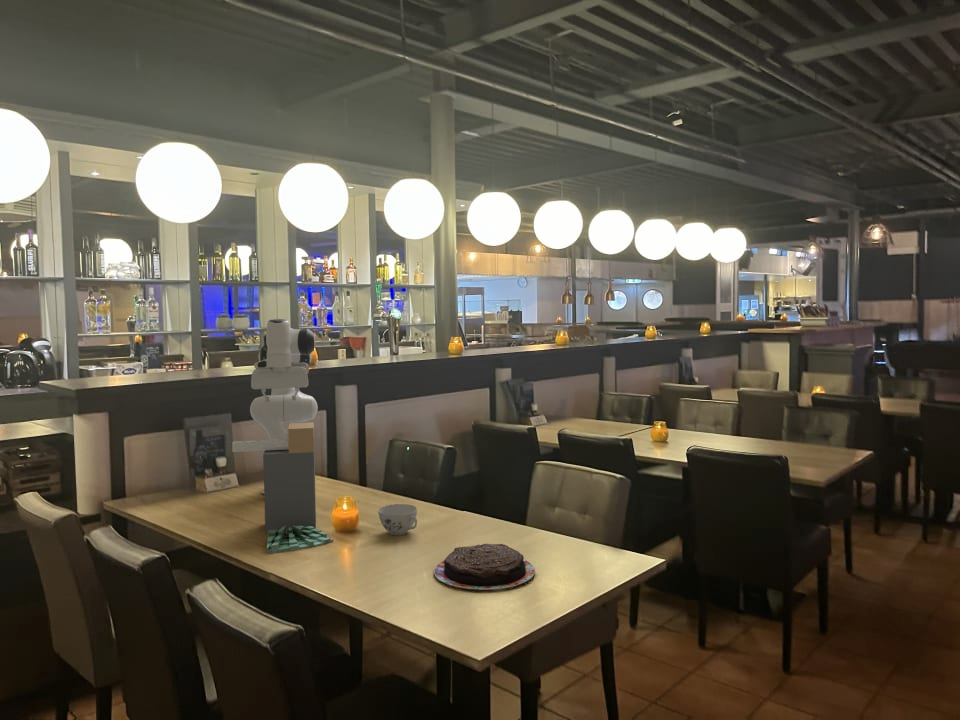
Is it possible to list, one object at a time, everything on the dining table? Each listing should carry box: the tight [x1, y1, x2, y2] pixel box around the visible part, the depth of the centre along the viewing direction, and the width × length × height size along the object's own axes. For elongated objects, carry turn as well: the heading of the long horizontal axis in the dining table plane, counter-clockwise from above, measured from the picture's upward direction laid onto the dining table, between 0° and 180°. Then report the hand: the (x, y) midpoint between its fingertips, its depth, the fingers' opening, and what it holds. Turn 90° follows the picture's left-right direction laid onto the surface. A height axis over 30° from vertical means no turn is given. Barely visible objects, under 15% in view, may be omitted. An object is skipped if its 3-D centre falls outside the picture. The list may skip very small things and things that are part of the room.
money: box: [266, 526, 334, 554], centre depth 230 cm, size 20×16×5 cm
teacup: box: [377, 503, 418, 536], centre depth 239 cm, size 15×12×8 cm
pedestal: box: [262, 422, 317, 534], centre depth 247 cm, size 12×16×34 cm
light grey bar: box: [231, 439, 289, 453], centre depth 245 cm, size 3×24×3 cm, turn 102°
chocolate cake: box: [433, 543, 536, 593], centre depth 203 cm, size 28×28×7 cm
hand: (280, 400), depth 269 cm, fingers open, 8 cm apart
